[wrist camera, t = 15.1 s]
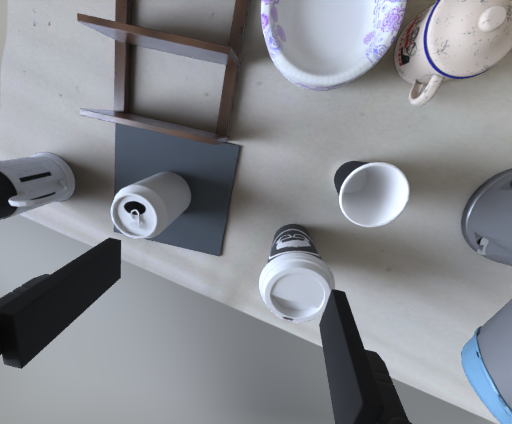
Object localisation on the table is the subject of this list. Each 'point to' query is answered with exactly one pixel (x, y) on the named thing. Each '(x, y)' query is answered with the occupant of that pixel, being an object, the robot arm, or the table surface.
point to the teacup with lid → (452, 43)
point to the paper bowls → (329, 38)
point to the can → (150, 205)
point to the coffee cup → (295, 277)
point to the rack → (176, 45)
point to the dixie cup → (371, 192)
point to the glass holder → (33, 183)
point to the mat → (192, 171)
